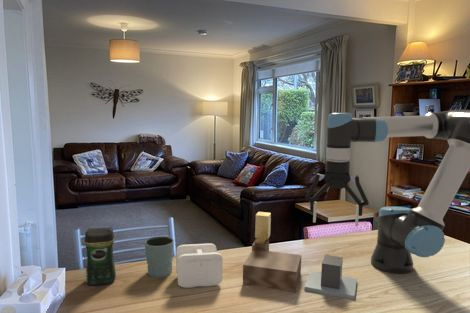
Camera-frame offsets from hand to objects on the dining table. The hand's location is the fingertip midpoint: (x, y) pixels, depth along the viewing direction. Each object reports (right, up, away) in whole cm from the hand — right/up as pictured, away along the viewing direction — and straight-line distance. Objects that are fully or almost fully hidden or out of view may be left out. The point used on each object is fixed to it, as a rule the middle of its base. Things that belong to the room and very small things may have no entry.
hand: (335, 223), depth 126 cm
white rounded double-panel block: (-46, -21, +4) cm, 51 cm away
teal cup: (-61, -20, +11) cm, 65 cm away
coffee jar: (-79, -21, +4) cm, 82 cm away
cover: (-1, -22, +3) cm, 22 cm away
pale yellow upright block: (-23, -10, +21) cm, 33 cm away
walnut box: (-19, -20, +11) cm, 30 cm away
